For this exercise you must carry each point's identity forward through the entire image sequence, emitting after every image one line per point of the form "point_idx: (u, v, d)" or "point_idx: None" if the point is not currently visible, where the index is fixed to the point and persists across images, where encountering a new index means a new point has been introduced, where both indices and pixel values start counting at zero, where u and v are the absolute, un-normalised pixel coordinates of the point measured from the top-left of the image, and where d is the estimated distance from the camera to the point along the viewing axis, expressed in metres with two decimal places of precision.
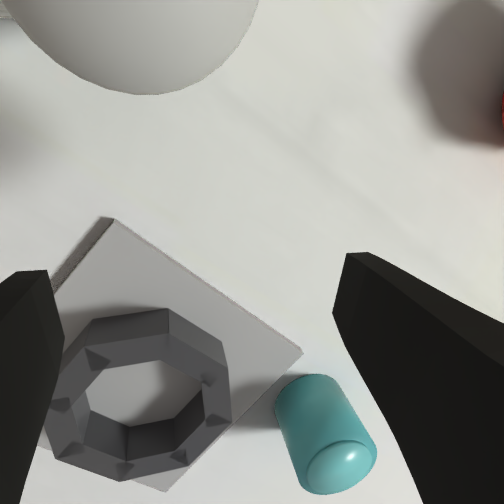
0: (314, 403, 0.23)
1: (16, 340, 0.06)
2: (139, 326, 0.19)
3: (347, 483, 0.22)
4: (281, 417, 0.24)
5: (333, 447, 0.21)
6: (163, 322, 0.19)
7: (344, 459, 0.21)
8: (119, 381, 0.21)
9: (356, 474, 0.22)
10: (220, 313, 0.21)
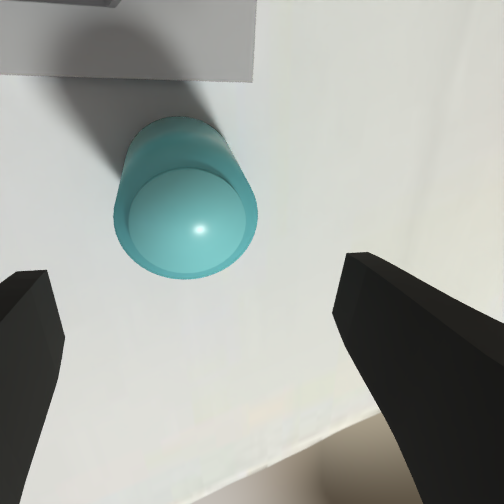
0: (216, 141, 0.14)
1: (16, 340, 0.06)
2: None
3: (173, 261, 0.13)
4: (148, 132, 0.15)
5: (217, 177, 0.12)
6: None
7: (209, 213, 0.13)
8: None
9: (196, 257, 0.14)
10: None
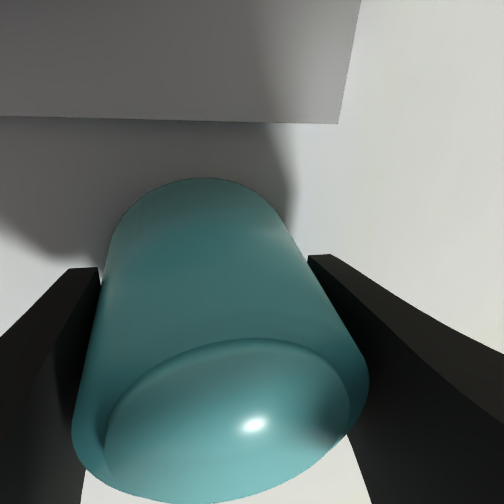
0: (279, 238, 0.08)
1: (79, 334, 0.07)
2: None
3: (197, 491, 0.07)
4: (150, 217, 0.08)
5: (305, 357, 0.05)
6: None
7: (279, 417, 0.06)
8: None
9: (243, 479, 0.07)
10: None
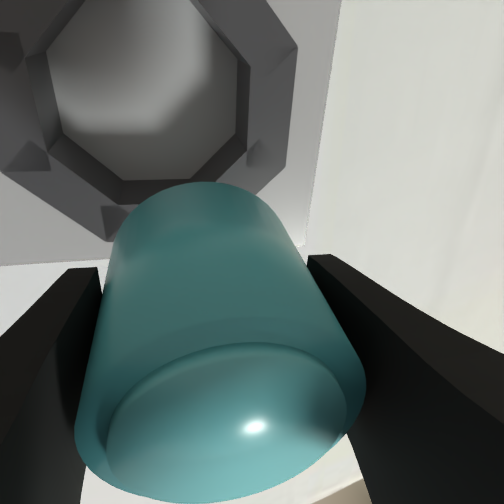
0: (275, 240, 0.08)
1: (78, 334, 0.07)
2: None
3: (200, 491, 0.07)
4: (148, 223, 0.08)
5: (298, 360, 0.06)
6: None
7: (276, 419, 0.06)
8: (126, 59, 0.13)
9: (244, 479, 0.07)
10: (305, 115, 0.15)
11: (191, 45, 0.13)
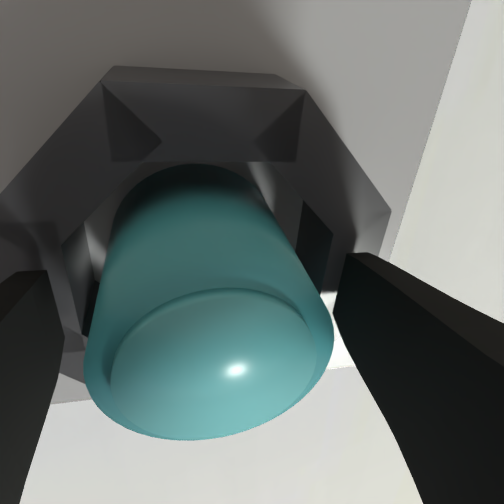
0: (256, 211, 0.09)
1: (16, 340, 0.06)
2: None
3: (192, 426, 0.08)
4: (145, 198, 0.09)
5: (272, 303, 0.07)
6: None
7: (255, 358, 0.07)
8: None
9: (230, 416, 0.08)
10: None
11: None
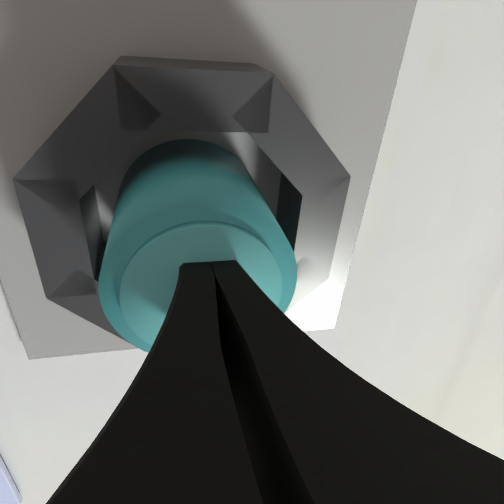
0: (237, 173, 0.11)
1: None
2: None
3: None
4: (146, 163, 0.11)
5: (244, 233, 0.09)
6: None
7: None
8: None
9: None
10: (344, 215, 0.15)
11: None
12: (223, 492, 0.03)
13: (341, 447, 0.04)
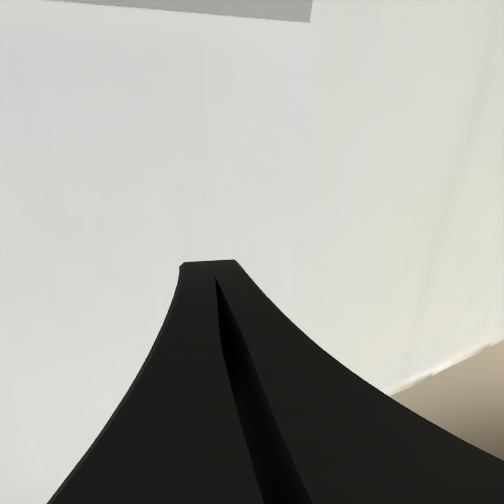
0: None
1: None
2: None
3: None
4: None
5: None
6: None
7: None
8: None
9: None
10: None
11: None
12: (224, 492, 0.03)
13: (340, 447, 0.04)
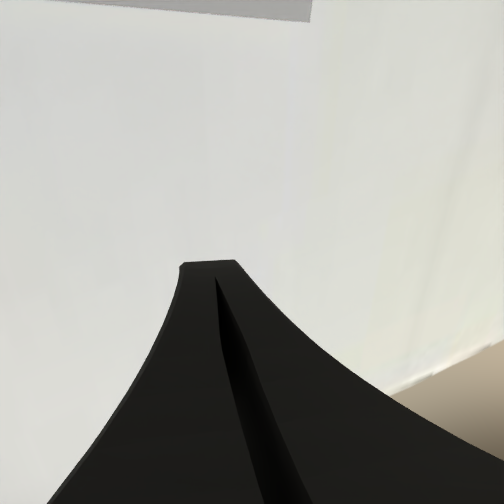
0: None
1: None
2: None
3: None
4: None
5: None
6: None
7: None
8: None
9: None
10: None
11: None
12: (224, 492, 0.03)
13: (340, 447, 0.04)
